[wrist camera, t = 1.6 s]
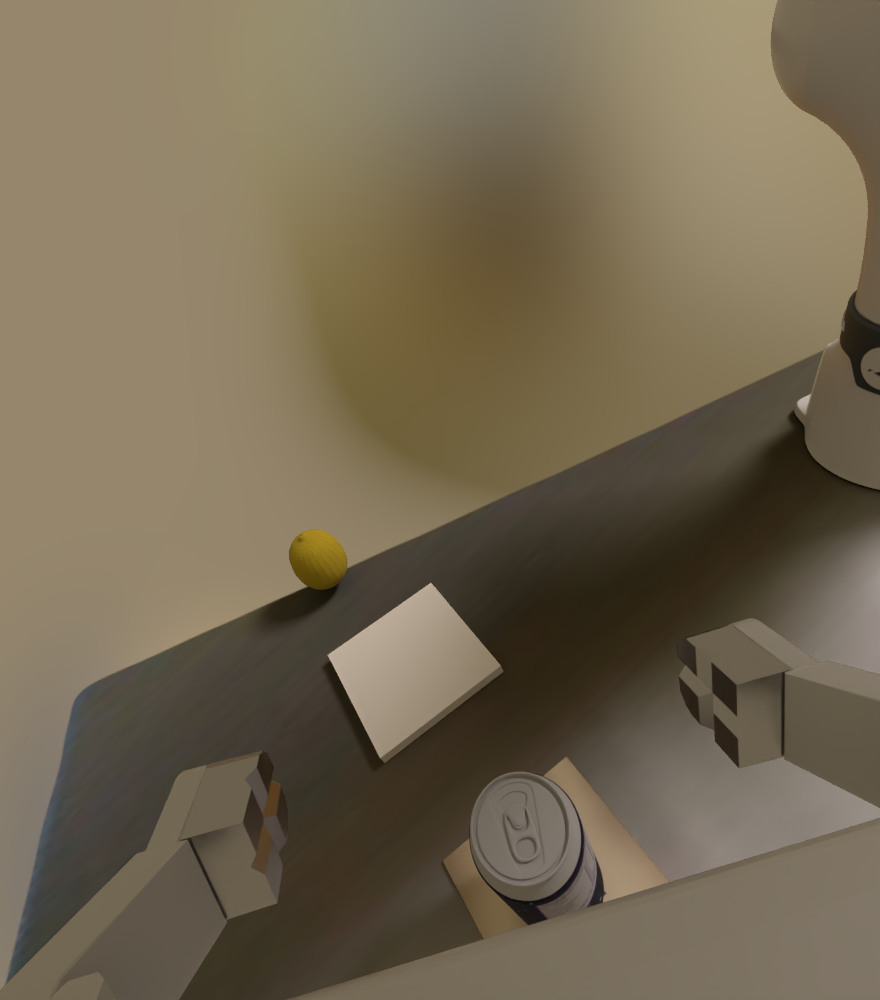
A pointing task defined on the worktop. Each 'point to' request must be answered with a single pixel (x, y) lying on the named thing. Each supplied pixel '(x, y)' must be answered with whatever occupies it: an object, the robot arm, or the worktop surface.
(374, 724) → the mat
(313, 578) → the lemon
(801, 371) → the worktop surface
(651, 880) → the pad
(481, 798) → the beverage can
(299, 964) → the worktop surface
